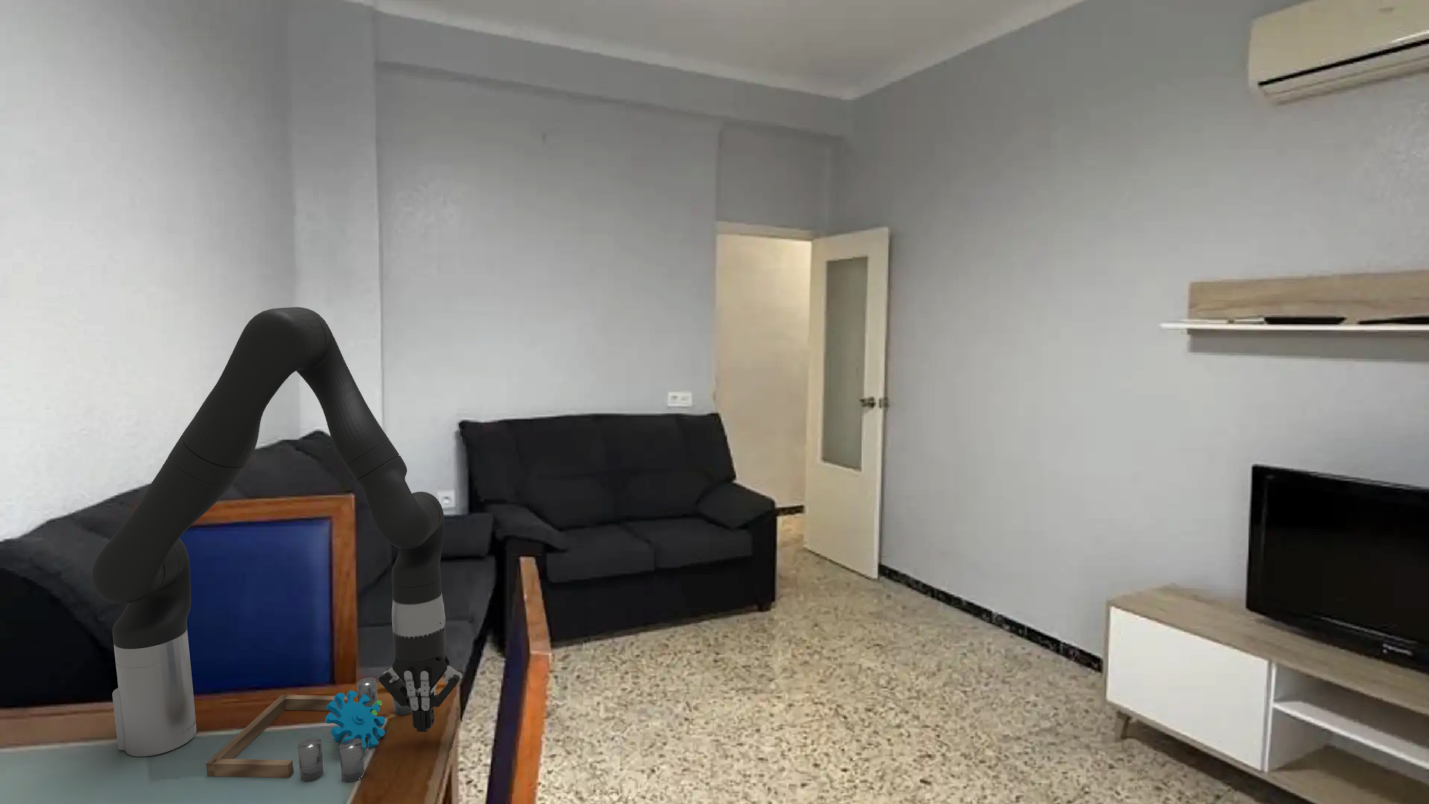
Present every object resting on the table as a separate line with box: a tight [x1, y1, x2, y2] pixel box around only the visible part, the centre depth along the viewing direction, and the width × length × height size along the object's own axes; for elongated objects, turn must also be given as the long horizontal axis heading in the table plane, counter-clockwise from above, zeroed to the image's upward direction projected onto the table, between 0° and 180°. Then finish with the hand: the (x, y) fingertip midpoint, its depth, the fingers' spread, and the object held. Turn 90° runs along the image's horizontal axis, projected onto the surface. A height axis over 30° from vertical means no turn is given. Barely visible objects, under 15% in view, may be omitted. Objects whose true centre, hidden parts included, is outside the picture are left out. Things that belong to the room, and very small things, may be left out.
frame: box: [205, 694, 348, 779], centre depth 124 cm, size 12×19×2 cm, turn 179°
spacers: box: [297, 677, 412, 783], centre depth 124 cm, size 9×21×5 cm, turn 179°
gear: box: [325, 689, 386, 751], centre depth 124 cm, size 11×6×10 cm
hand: (424, 729), depth 124 cm, fingers closed
